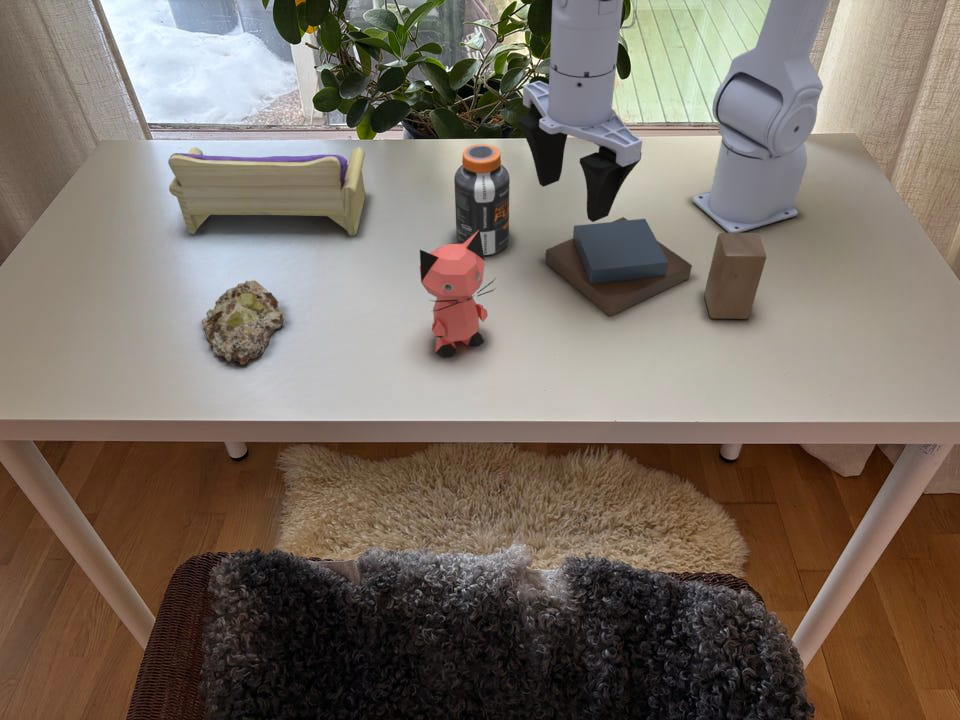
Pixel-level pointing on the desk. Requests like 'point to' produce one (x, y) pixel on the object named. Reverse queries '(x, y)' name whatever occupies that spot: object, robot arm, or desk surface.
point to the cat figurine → (455, 292)
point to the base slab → (618, 292)
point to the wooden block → (734, 275)
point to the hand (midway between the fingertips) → (573, 199)
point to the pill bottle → (482, 198)
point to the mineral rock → (242, 322)
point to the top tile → (619, 251)
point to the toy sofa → (269, 186)
